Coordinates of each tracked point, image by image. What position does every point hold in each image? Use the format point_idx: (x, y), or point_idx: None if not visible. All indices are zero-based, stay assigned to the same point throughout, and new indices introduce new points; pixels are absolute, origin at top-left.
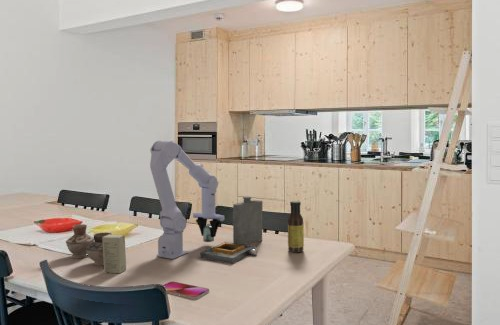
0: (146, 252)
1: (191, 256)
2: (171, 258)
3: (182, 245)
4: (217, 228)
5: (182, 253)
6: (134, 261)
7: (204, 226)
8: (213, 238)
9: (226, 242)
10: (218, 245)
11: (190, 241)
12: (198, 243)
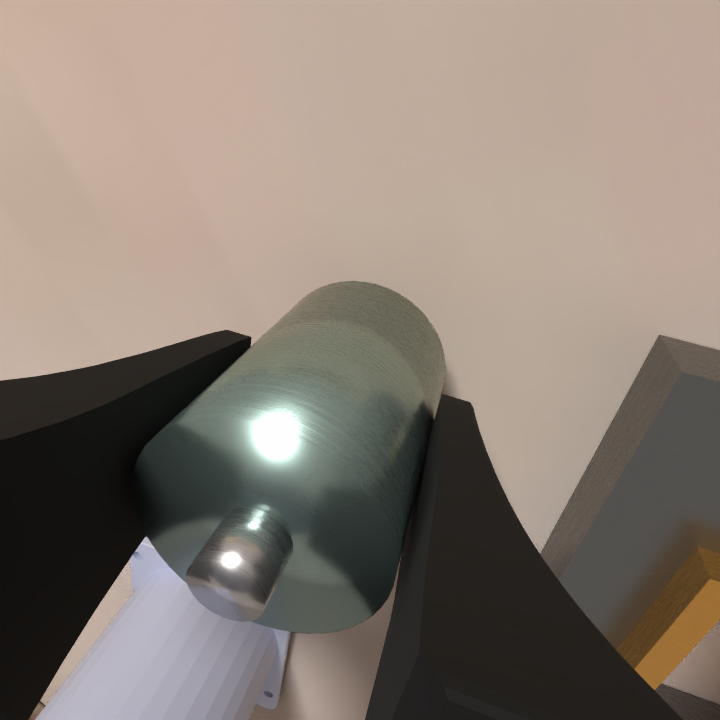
0: None
1: (371, 657)
2: (267, 703)
3: (243, 700)
4: (511, 508)
5: (280, 640)
6: None
7: (170, 537)
8: (439, 392)
9: (710, 410)
10: (590, 561)
11: (60, 182)
12: (204, 254)
